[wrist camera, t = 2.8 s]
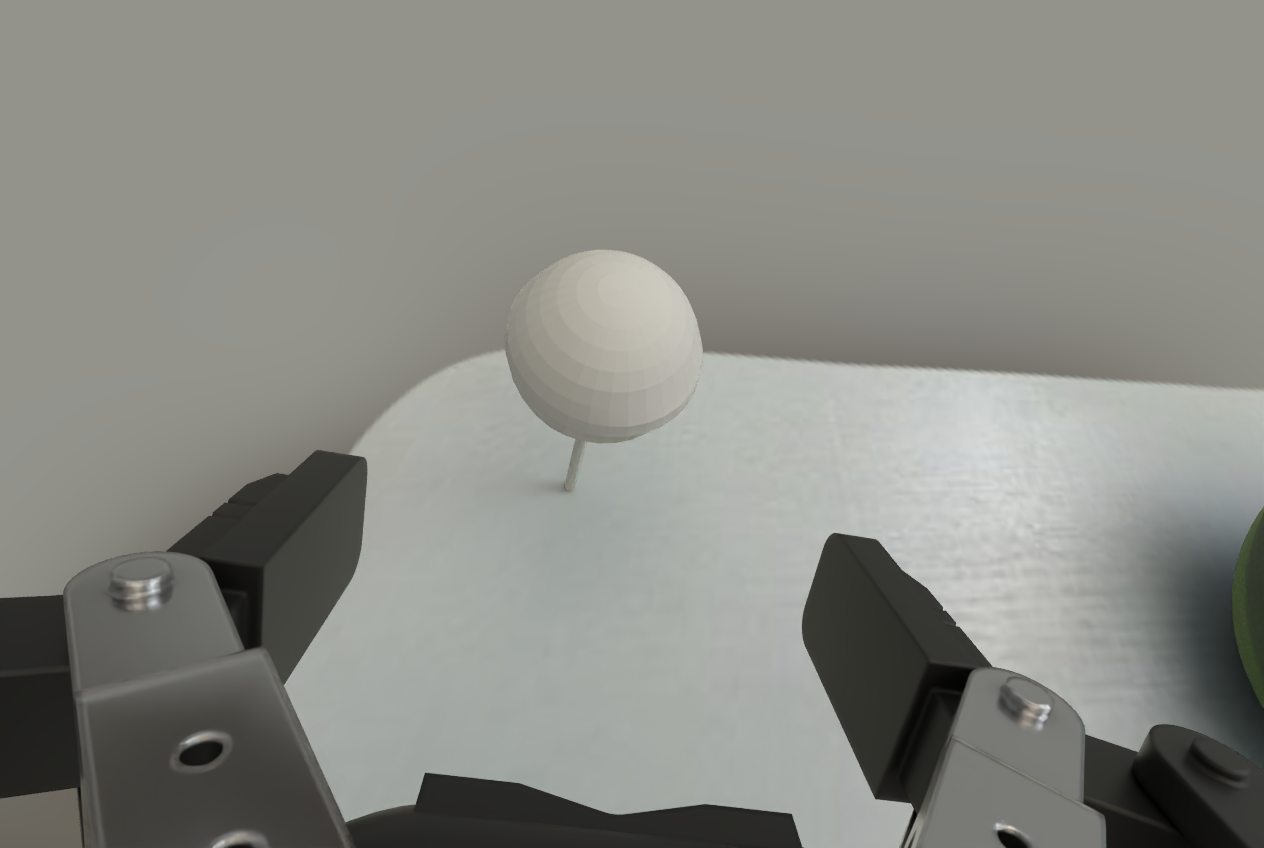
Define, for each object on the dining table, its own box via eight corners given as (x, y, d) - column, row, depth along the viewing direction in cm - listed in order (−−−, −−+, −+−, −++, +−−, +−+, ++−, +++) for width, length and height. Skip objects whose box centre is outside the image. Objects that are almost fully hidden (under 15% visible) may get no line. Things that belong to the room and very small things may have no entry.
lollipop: (659, 493, 32) (770, 307, 19) (568, 578, 30) (623, 433, 17) (570, 405, 34) (614, 172, 20) (475, 479, 31) (457, 270, 18)
